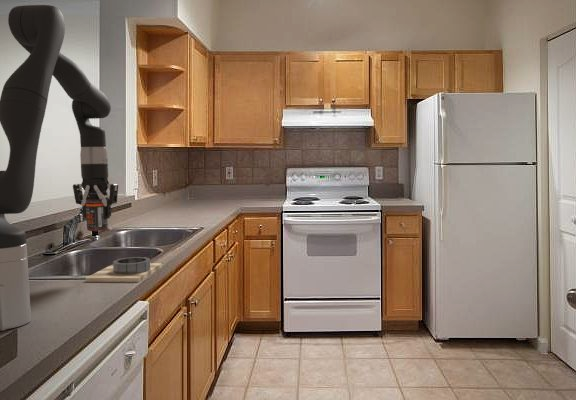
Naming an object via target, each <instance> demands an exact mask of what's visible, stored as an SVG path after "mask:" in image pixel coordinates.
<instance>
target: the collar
mask: <svg viewBox="0 0 576 400" xmlns="http://www.w3.org/2000/svg"><path fill="white" fill-rule="evenodd" d="M150 263H151V258H150V257H147V256H146V257H145V256H143V257H142V256H133V257H132V256H131V257H124V258H123V257H122V258H118V259H116V260H115V259H114V260H113V261H112V264H113V270H114V273H117V274H136V273H142V272H146V271H149V270H150Z"/></svg>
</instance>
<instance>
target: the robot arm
mask: <svg viewBox="0 0 576 400" xmlns="http://www.w3.org/2000/svg"><path fill="white" fill-rule="evenodd" d="M7 21H8V27H9V30H10V33H11V35H12V36H13V37H14V39H15V41H17V42H18V44H19V45H21V47H22V48H23V49H24V50H26V51H27V52H28V53H29V55H28V57H27V58H26V59H25V60H24V61H23V62H22V64H20V65H19V66H18V67H17V68H16V70H14V71H13V72H12V74H11V75H10V76H9V77H8V78H7V79H6V81H5V83H4V84H3V88H2V90H1V95H0V126H1V127H2V130H3V132H4V134H5V137H6V138H7V142H8V144H9V157H8V162H7V167H6V169H5V170H0V331H3V332H4V331H6V330H10V329H13V328H19V327H22V326H24V325H26V324H28V323H30V322H31V321H32V312H31V309H32V308H31V296H30V278H29V266H28V265H29V264H28V248H27V247H28V246H27V233H26V232H25V231H24V230H23V229H22V228H20V227H17V226H15V225H13V224H11V223H10V222H9V221H8V220H7V219H6V217H5V215H13V214H14V215H15V214H22V213H24V212H25V211H26V210H27V209H28V208H29V206H30V204H31V201H32V198H33V194H34V188H35V187H34V186H35V177H36V164H37V156H38V155H37V154H38V148H39V143H40V137H41V133H42V127H43V123H44V119H45V115H46V110H47V105H48V99H49V93H50V87H51V83H52V78H54V79H55V80H56V82H58V84H59V85H60V87H61V88H62V89H63V91H64V92H65V93H66V94H67V96H68V97H69V98H70V99H72V102H71V109H72V113H73V116H74V119H75V122H76V125H77V128H78V132H79V139H80V140H79V141H80V155H79V156H80V157H79V158H80V174H81V179H82V182H81V183H75V184H73V185H72V189H73V195H74V200H75V204H76V205H80V206H81V207H82V209H81V210H82V216H83V218H84V219H86V201H87V200H88V199H89V193H97V194H98V196H99V198H100V200H102V202H103V204H104V207H103V212H104V219H108V220H109V219H110V217H112V210H111V209H112V208H111V207H112V205H114V204H117V203H118V195H119V184H118V183H111V182H109V164H108V151H107V143H106V142H107V140H106V130H105V129H104V128H103V127H101V126H95V125H92V123H91V122H90V120H91V119H93V120H97V119H106V118H107V117H108V116H109V115H110V113H111V111H112V110H111V109H112V108H111V107H112V106H111V102H110V100H109V98H108V96H106V94H105V93H104V92H103V91H101V90H100V89H99V88H98V87H97V86H96V85H94V84H92V82H91V81H90V80H89V78H88V77H87V76H86V74H85V72H84V71H83V70H82V68H81V67H80V66H79V65H78V64H77V63H76V62H74V61H73V60H72V59H70V58H69V57H67V56H65V55H64V54H62V53H61V49H62V46H63V43H64V38H65V32H66V23H65V18H64V15H63V12H62V11H61V10H60V9H59V8H58V7H56V6H55V5H49V4H33V5H32V4H28V5H16V6H13V7H12V8H11V9H10V11H9V13H8V18H7ZM83 190H84V192H83ZM108 190H109V193H108ZM86 220H87V219H86Z"/></svg>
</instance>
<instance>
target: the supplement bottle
mask: <svg viewBox="0 0 576 400" xmlns="http://www.w3.org/2000/svg"><path fill="white" fill-rule="evenodd" d="M103 207H104V204H103V202H102V200H100V198H99V196H98V194H97V193H89V199H88V200H87V201H86V229H87V231H88V232H103V231H107V230H108V229H109V228H108V227H109V222H108V220H109V218H108V219H104V212H103Z"/></svg>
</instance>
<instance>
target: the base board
mask: <svg viewBox="0 0 576 400" xmlns="http://www.w3.org/2000/svg"><path fill="white" fill-rule="evenodd" d="M162 267H163V264H162V263H160V262H156V263H154V262H153V263H151V262H150V270H149V271H146V272H142V273H136V274H117V273H114V270H113V263H112V264H111V265H108V266H106V267H105V268H102V269H100V270H99V271H96V272H95V273H92V274H91V275H88V276H86V277H85V282H86V283H88V282H89V283H90V282H91V283H93V282H95V283H97V282H99V283H103V282H104V283H107V282H108V283H140V282H142V281H143V280H145V279H146V278H147V277H149V276H150V275H152V274H153V273H156V271H158V270H159V269H161V268H162Z"/></svg>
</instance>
